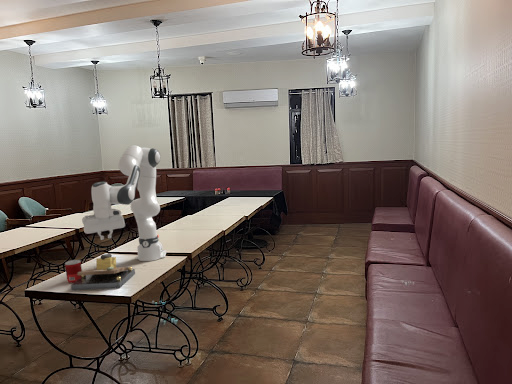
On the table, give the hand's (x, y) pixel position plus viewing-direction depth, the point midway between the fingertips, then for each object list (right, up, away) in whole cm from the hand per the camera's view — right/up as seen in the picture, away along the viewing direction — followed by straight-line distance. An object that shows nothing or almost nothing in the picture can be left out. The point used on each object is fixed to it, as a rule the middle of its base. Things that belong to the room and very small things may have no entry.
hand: (106, 238), depth 210 cm
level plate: (-4, -19, +8) cm, 21 cm away
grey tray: (-4, -25, +9) cm, 26 cm away
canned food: (-23, -25, +14) cm, 37 cm away
